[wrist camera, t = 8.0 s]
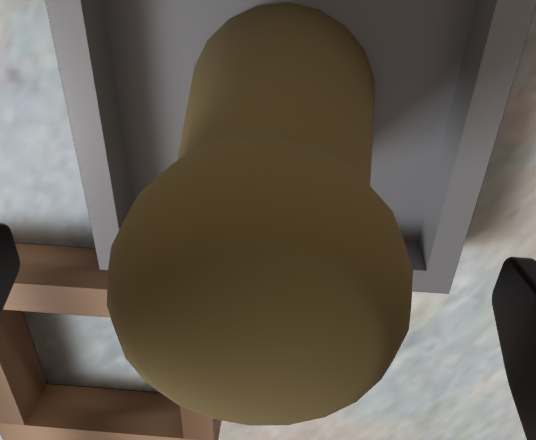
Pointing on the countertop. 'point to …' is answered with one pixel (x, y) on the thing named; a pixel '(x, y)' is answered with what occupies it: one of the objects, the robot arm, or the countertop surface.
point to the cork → (266, 233)
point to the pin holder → (73, 397)
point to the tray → (385, 113)
